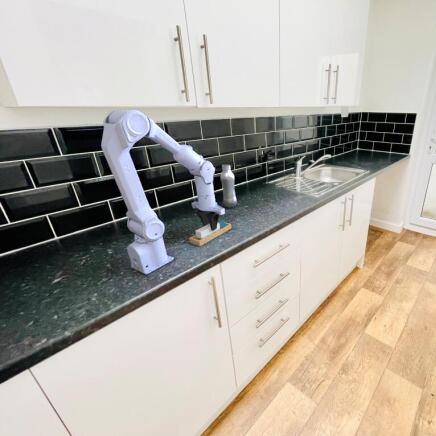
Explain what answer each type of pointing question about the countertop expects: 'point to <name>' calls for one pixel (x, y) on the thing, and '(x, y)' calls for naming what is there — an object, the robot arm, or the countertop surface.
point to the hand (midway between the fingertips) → (211, 228)
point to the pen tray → (210, 237)
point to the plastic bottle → (228, 186)
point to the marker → (209, 229)
